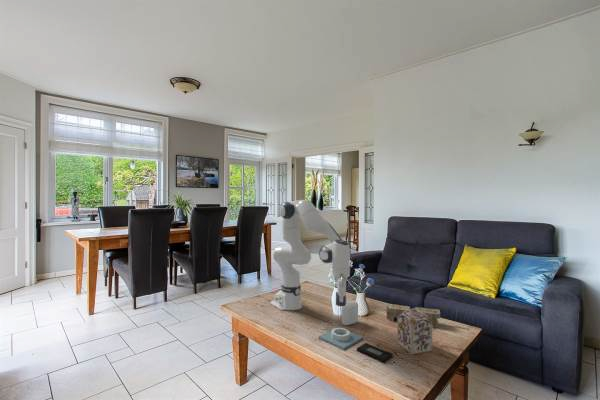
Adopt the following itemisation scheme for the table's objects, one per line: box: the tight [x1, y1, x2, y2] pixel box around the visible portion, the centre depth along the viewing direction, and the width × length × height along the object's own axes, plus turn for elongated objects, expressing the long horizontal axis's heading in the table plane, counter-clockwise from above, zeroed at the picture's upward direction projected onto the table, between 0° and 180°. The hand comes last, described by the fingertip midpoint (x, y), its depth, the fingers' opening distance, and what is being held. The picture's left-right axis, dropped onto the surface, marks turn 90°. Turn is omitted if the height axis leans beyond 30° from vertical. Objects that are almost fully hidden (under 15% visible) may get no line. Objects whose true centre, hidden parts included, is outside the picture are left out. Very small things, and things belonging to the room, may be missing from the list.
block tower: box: [385, 303, 441, 328], centre depth 174 cm, size 8×8×29 cm
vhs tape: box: [356, 342, 393, 364], centre depth 138 cm, size 8×14×2 cm, turn 44°
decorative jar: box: [396, 308, 433, 355], centre depth 144 cm, size 12×12×18 cm
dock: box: [318, 326, 364, 351], centre depth 152 cm, size 16×16×4 cm
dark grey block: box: [335, 291, 347, 307], centre depth 152 cm, size 5×5×6 cm
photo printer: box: [341, 300, 359, 326], centre depth 171 cm, size 10×4×12 cm, turn 123°
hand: (340, 299), depth 152 cm, fingers closed on dark grey block, 5 cm apart
